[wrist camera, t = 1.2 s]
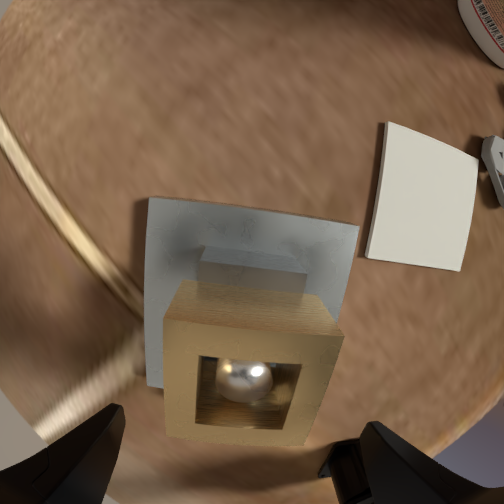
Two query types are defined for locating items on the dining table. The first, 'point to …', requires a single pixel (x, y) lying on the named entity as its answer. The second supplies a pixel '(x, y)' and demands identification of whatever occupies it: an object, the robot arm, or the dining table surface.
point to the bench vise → (238, 270)
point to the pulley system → (495, 163)
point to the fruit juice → (485, 26)
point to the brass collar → (250, 349)
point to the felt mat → (422, 201)
